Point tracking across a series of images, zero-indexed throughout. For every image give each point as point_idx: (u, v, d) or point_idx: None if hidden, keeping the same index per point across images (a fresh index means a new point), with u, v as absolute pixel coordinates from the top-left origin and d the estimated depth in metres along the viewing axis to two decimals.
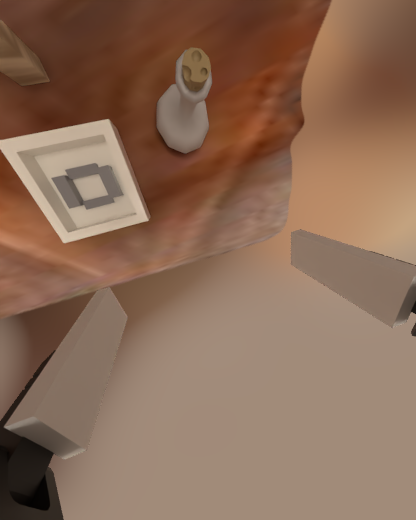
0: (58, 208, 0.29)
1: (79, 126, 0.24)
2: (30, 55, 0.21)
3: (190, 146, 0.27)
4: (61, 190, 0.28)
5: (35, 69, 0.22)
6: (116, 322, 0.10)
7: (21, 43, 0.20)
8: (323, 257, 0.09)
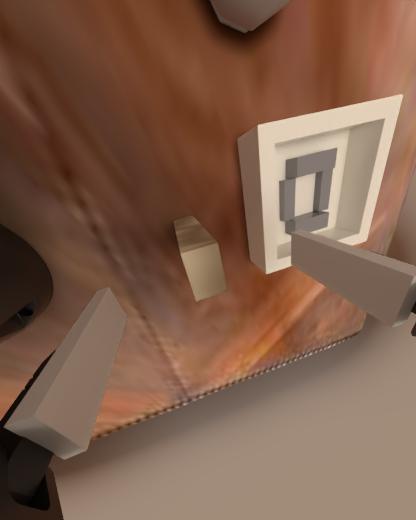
0: None
1: (262, 179, 0.16)
2: (183, 222, 0.18)
3: None
4: (308, 229, 0.22)
5: (196, 221, 0.18)
6: (116, 322, 0.10)
7: (180, 226, 0.17)
8: (323, 256, 0.09)
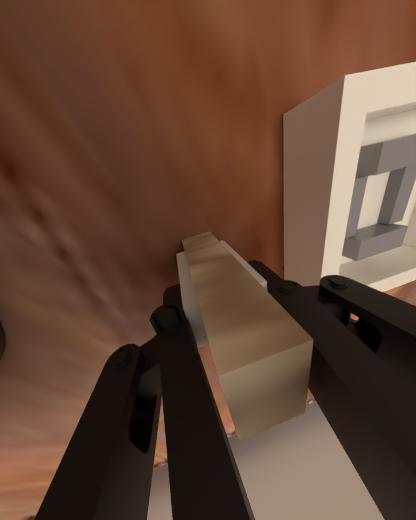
0: (389, 261, 0.16)
1: (335, 177, 0.09)
2: (199, 246, 0.11)
3: None
4: (376, 250, 0.15)
5: None
6: None
7: (194, 253, 0.10)
8: None
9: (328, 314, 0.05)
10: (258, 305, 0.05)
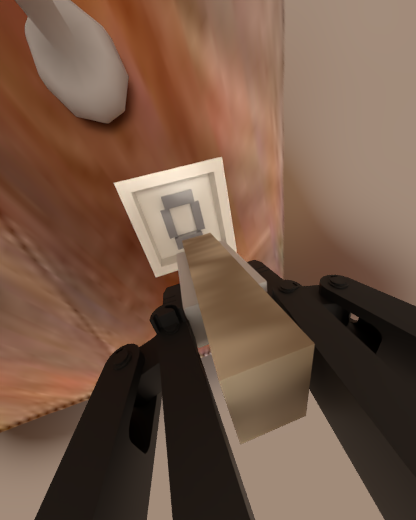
0: None
1: (129, 214, 0.24)
2: (199, 247, 0.11)
3: (115, 55, 0.17)
4: None
5: None
6: None
7: (194, 254, 0.10)
8: None
9: (328, 314, 0.05)
10: (259, 308, 0.05)
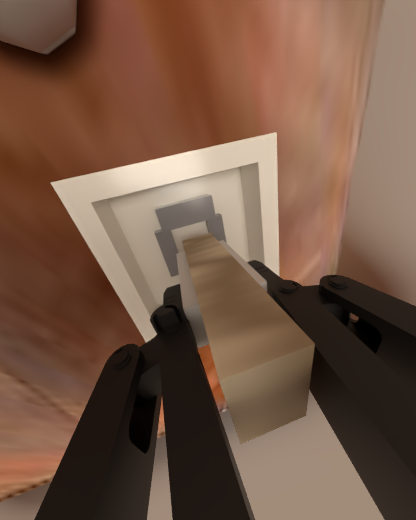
0: None
1: (91, 245, 0.12)
2: (199, 247, 0.11)
3: None
4: None
5: None
6: None
7: (195, 255, 0.10)
8: None
9: (328, 314, 0.05)
10: (259, 308, 0.05)
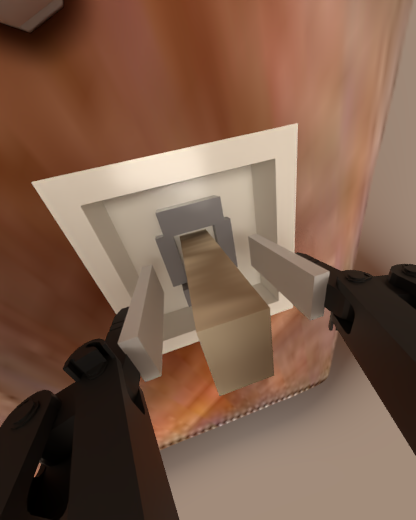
0: None
1: (81, 254, 0.10)
2: (194, 241, 0.13)
3: None
4: None
5: (212, 239, 0.13)
6: (159, 293, 0.12)
7: (189, 247, 0.12)
8: (267, 258, 0.11)
9: (408, 308, 0.05)
10: (235, 286, 0.07)
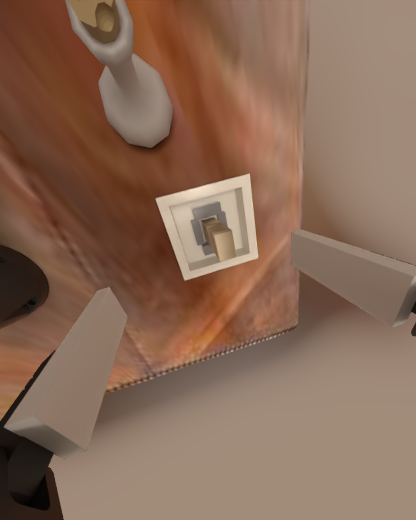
0: None
1: (166, 225, 0.27)
2: (209, 221, 0.29)
3: (166, 94, 0.20)
4: None
5: (217, 220, 0.29)
6: (116, 322, 0.10)
7: (207, 223, 0.28)
8: (323, 256, 0.09)
9: None
10: (224, 228, 0.23)
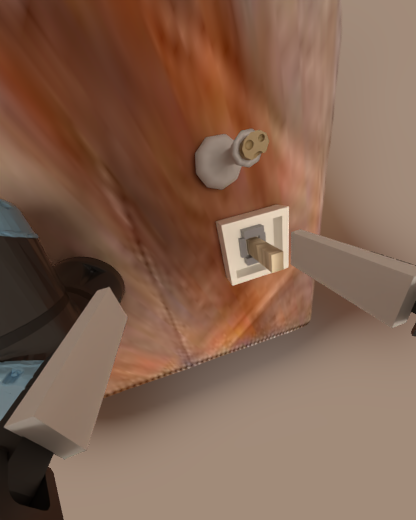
0: None
1: (225, 244, 0.35)
2: (255, 240, 0.38)
3: None
4: (255, 262, 0.41)
5: (261, 239, 0.38)
6: (116, 322, 0.10)
7: (255, 242, 0.37)
8: (323, 256, 0.09)
9: None
10: (275, 249, 0.32)
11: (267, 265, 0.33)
